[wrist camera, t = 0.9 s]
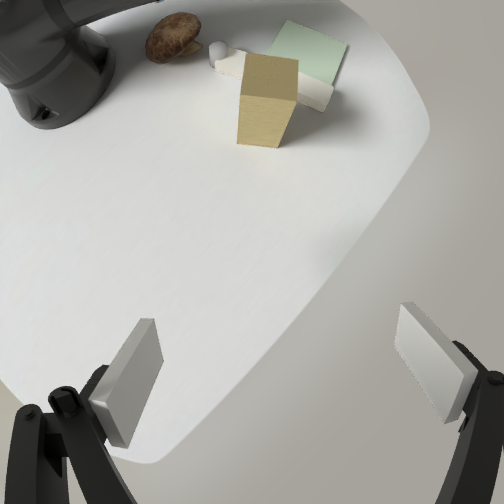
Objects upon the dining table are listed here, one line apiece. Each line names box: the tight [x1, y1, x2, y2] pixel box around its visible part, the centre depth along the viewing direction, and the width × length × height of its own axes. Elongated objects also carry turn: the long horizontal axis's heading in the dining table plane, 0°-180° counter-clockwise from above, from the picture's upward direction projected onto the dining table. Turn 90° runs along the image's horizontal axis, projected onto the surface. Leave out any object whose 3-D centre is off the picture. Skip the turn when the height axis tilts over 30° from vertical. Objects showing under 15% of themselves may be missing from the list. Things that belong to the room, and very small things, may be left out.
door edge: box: [209, 41, 334, 113], centre depth 32 cm, size 15×3×3 cm, turn 68°
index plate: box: [266, 20, 347, 85], centre depth 34 cm, size 9×9×1 cm
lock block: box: [237, 53, 299, 148], centre depth 28 cm, size 4×4×11 cm
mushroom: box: [145, 13, 203, 64], centre depth 31 cm, size 8×8×6 cm
